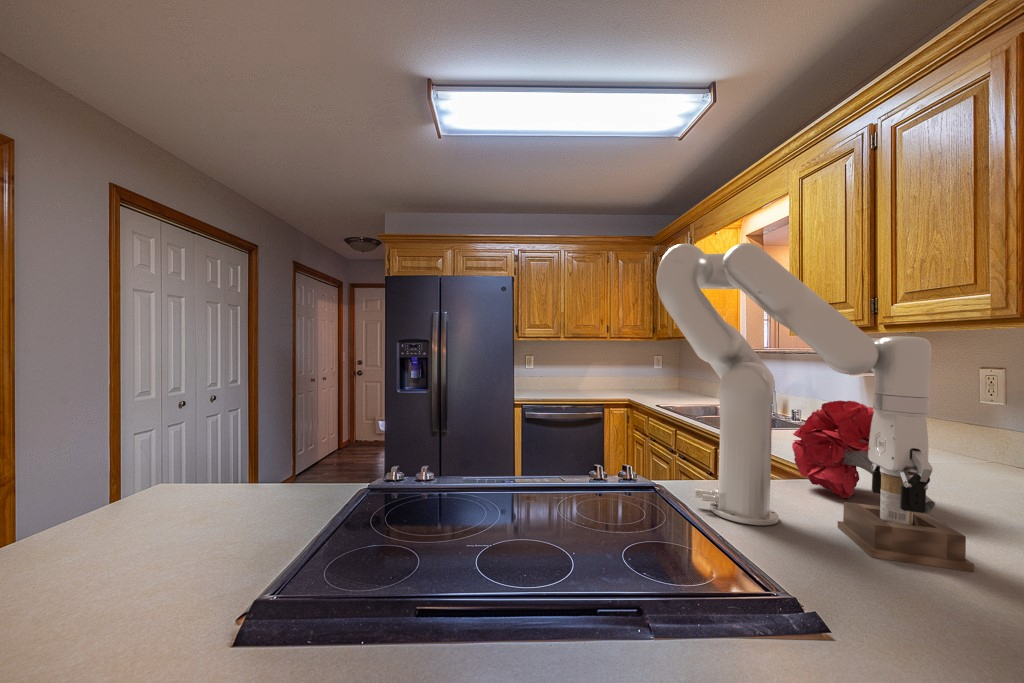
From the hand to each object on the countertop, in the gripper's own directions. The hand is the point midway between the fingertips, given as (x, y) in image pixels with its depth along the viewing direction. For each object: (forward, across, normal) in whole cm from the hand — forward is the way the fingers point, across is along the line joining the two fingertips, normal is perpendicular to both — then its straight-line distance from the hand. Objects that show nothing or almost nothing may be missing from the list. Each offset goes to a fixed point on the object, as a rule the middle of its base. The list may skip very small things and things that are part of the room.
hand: (896, 502), depth 79 cm
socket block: (+8, 0, 0) cm, 8 cm away
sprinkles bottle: (+7, 0, 0) cm, 7 cm away
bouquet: (+8, -30, +6) cm, 32 cm away
